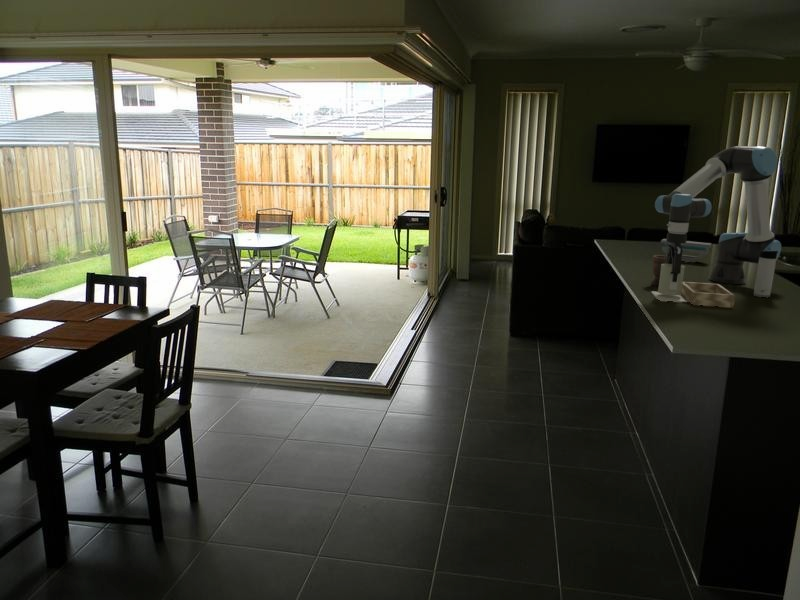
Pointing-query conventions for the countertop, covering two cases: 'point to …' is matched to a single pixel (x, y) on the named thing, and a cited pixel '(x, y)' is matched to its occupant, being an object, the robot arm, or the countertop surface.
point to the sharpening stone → (690, 249)
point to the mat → (668, 297)
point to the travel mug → (765, 273)
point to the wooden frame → (707, 294)
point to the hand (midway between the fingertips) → (670, 287)
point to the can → (665, 280)
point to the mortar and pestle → (658, 267)
